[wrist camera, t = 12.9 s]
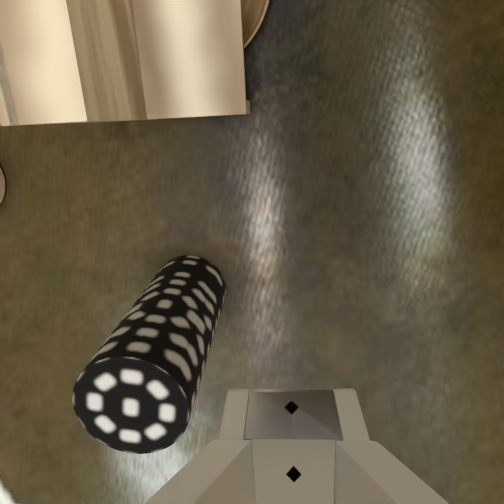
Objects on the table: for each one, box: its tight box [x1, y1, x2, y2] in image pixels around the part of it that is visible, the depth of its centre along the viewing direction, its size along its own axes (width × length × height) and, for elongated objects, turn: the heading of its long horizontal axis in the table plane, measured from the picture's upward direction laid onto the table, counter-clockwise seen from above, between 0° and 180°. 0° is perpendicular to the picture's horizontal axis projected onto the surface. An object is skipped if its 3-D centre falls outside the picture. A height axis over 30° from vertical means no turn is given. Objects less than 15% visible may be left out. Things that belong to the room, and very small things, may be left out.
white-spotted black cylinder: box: [72, 255, 226, 454], centre depth 37 cm, size 8×8×20 cm
